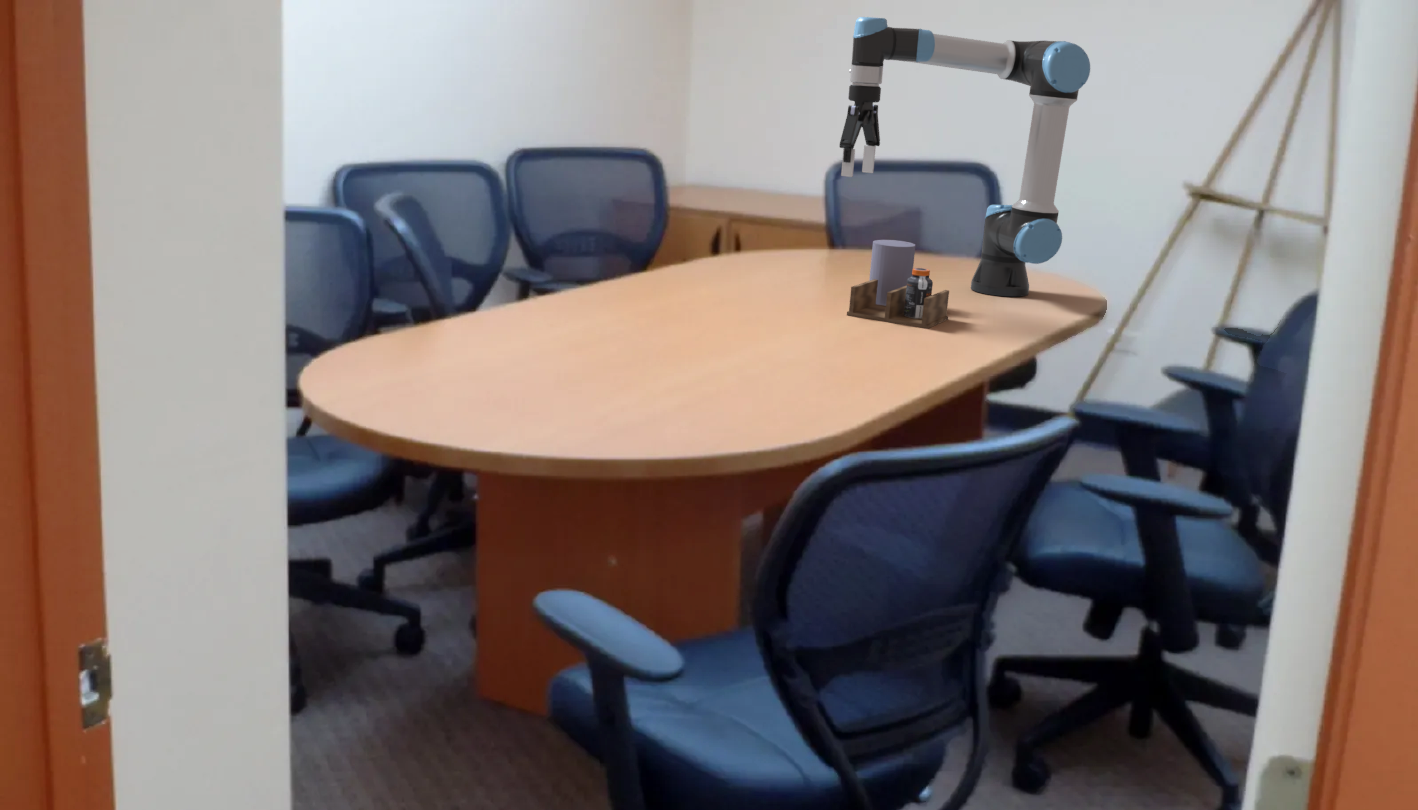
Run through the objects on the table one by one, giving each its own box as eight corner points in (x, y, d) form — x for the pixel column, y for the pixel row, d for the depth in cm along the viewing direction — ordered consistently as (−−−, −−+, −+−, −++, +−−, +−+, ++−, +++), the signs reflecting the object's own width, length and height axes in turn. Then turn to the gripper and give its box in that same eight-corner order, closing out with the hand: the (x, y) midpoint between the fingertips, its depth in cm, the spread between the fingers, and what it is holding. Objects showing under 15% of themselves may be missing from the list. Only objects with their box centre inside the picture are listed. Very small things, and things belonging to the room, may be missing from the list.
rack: (869, 306, 329) (872, 278, 327) (948, 319, 319) (951, 290, 318) (846, 315, 317) (849, 286, 315) (927, 328, 308) (930, 299, 306)
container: (872, 297, 340) (878, 238, 336) (913, 302, 337) (919, 242, 333) (862, 304, 330) (868, 243, 326) (904, 309, 327) (910, 248, 323)
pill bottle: (928, 320, 312) (933, 272, 309) (902, 317, 314) (907, 269, 310) (929, 315, 318) (934, 268, 315) (904, 313, 319) (909, 265, 316)
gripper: (869, 82, 334) (861, 169, 340) (830, 83, 312) (823, 176, 318) (898, 85, 331) (889, 172, 336) (861, 86, 309) (852, 179, 315)
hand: (857, 174), depth 327 cm, fingers open, 13 cm apart
